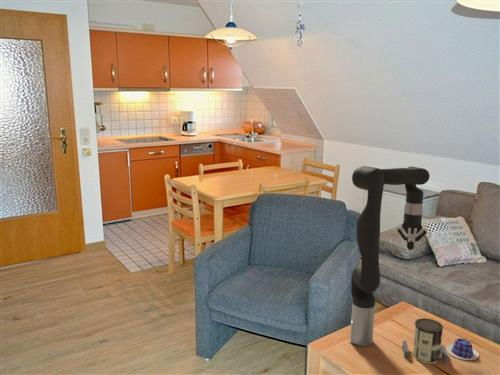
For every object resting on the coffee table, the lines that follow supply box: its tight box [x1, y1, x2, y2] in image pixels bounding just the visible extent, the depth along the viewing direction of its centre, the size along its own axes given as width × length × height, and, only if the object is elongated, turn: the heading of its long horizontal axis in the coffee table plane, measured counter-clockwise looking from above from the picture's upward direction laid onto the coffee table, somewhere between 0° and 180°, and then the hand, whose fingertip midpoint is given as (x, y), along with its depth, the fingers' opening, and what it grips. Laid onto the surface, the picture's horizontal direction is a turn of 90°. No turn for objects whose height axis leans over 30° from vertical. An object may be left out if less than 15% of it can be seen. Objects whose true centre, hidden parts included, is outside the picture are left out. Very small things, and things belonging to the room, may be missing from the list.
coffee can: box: [412, 317, 444, 365], centre depth 177 cm, size 10×10×14 cm
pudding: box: [445, 337, 480, 361], centre depth 180 cm, size 12×12×5 cm
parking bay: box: [401, 340, 449, 364], centre depth 179 cm, size 16×8×3 cm, turn 78°
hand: (410, 249), depth 199 cm, fingers closed
